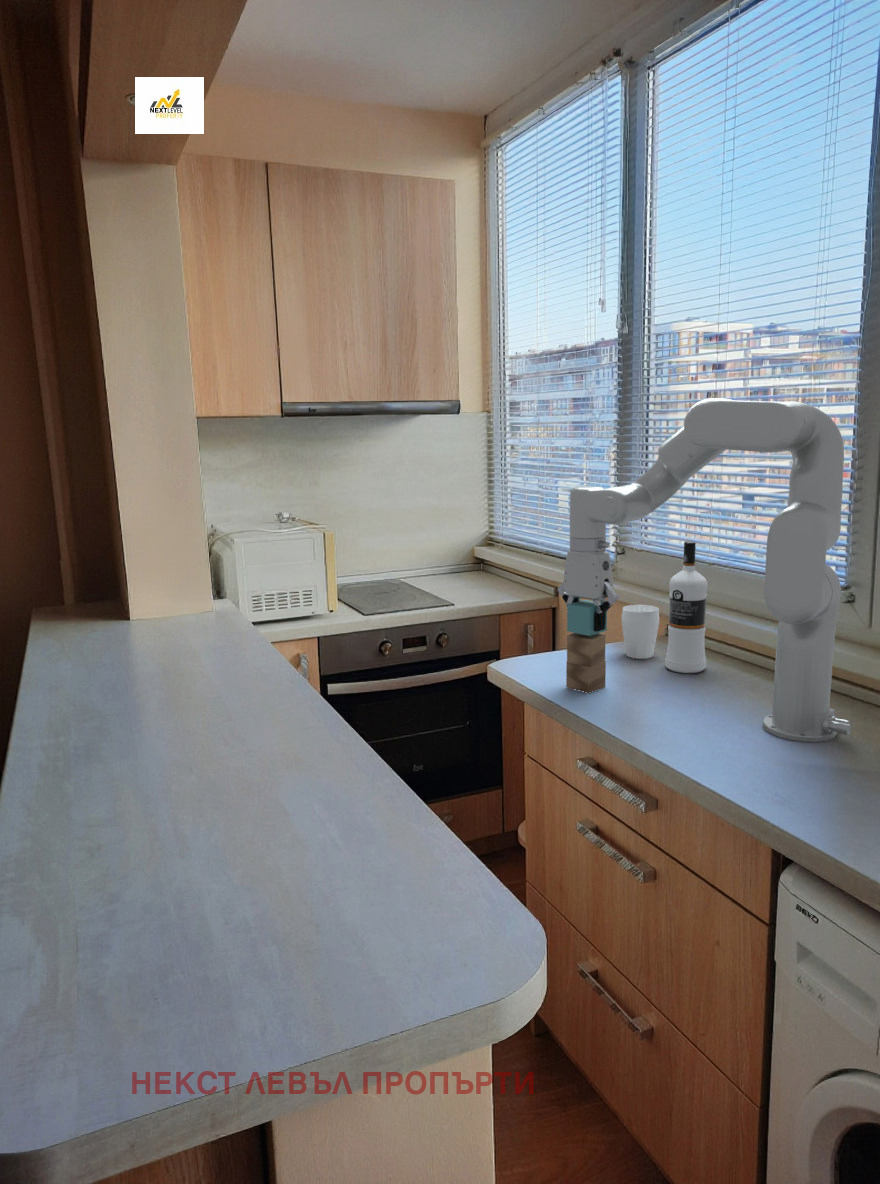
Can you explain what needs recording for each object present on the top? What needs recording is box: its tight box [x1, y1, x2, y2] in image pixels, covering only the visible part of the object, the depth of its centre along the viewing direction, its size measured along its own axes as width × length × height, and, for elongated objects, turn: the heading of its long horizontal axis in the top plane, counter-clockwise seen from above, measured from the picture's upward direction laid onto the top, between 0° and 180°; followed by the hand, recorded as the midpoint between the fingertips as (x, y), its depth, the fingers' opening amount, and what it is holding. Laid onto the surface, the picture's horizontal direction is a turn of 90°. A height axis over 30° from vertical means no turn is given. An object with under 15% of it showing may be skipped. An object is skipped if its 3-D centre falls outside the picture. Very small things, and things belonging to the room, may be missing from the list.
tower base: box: [565, 660, 607, 694], centre depth 178 cm, size 6×6×6 cm
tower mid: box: [566, 632, 607, 667], centre depth 177 cm, size 6×6×6 cm
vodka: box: [664, 540, 708, 674], centre depth 187 cm, size 9×9×30 cm
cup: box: [621, 604, 660, 660], centre depth 201 cm, size 9×9×12 cm
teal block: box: [566, 599, 608, 636], centre depth 175 cm, size 6×6×6 cm
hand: (586, 626), depth 176 cm, fingers closed on teal block, 6 cm apart
